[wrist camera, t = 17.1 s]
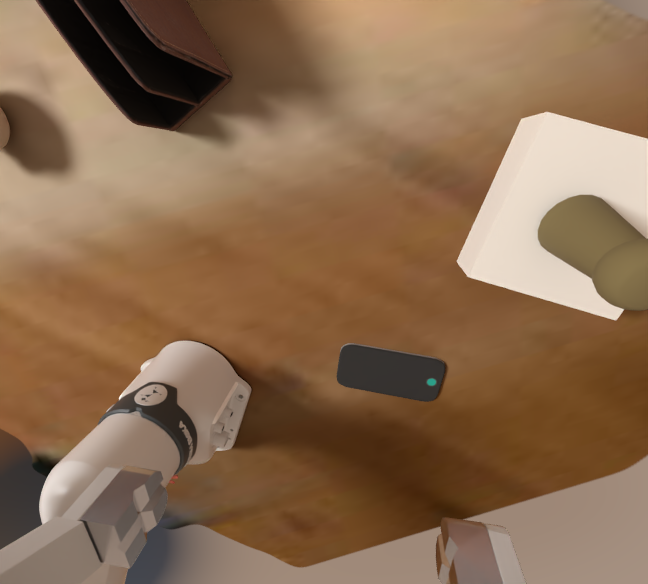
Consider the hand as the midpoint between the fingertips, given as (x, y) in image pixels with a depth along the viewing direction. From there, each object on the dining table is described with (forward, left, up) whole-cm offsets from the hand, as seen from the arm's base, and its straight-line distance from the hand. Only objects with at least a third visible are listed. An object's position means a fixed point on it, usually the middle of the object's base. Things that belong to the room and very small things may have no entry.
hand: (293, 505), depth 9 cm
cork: (+6, -20, -28) cm, 35 cm away
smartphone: (-19, -8, -35) cm, 40 cm away
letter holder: (+19, +27, -34) cm, 48 cm away
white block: (+6, -21, -35) cm, 41 cm away
